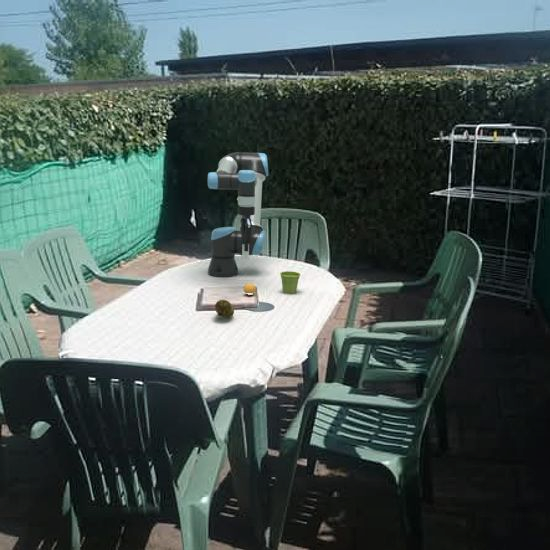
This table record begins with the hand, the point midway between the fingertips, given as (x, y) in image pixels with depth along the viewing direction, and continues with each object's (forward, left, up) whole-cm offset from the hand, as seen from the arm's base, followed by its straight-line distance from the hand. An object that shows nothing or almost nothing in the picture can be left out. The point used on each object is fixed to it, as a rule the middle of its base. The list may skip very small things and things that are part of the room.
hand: (245, 257), depth 265 cm
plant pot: (+12, +17, -15) cm, 26 cm away
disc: (+25, -7, -15) cm, 30 cm away
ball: (+9, -2, -12) cm, 15 cm away
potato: (+32, -25, -15) cm, 44 cm away
